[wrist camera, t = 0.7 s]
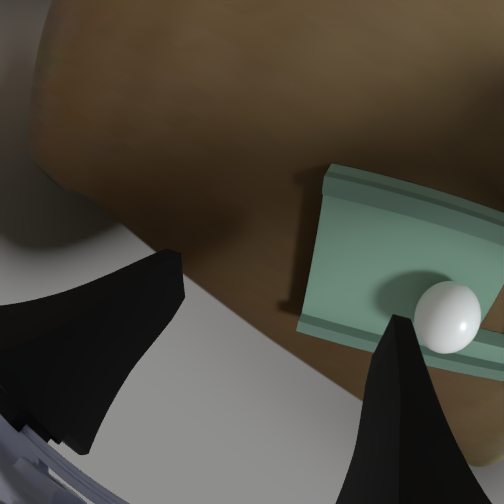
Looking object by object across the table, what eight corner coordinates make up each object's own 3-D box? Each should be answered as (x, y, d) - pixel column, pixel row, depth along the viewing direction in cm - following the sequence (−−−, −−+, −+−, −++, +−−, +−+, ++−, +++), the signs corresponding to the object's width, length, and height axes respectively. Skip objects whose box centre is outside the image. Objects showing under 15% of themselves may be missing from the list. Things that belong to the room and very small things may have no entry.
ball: (485, 276, 15) (499, 323, 12) (458, 325, 17) (463, 373, 14) (427, 259, 16) (432, 306, 13) (404, 311, 18) (402, 359, 15)
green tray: (595, 253, 11) (613, 279, 9) (525, 363, 17) (531, 392, 15) (331, 163, 17) (321, 180, 14) (305, 309, 23) (293, 338, 21)
